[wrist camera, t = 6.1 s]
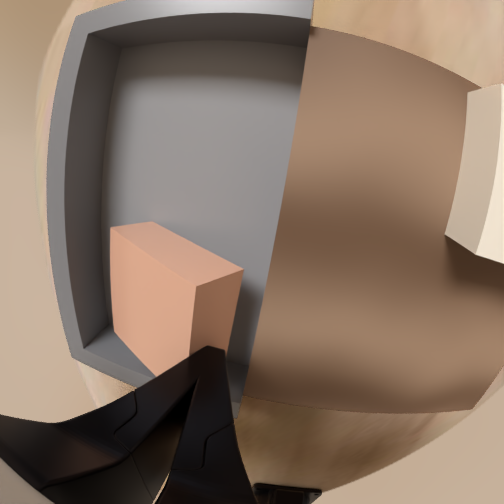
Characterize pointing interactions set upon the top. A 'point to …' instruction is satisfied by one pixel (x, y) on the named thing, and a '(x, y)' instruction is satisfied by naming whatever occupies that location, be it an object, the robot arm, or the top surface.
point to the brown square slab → (376, 244)
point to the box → (171, 152)
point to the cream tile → (481, 177)
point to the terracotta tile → (169, 294)
